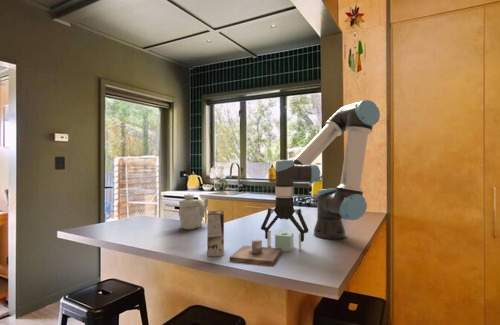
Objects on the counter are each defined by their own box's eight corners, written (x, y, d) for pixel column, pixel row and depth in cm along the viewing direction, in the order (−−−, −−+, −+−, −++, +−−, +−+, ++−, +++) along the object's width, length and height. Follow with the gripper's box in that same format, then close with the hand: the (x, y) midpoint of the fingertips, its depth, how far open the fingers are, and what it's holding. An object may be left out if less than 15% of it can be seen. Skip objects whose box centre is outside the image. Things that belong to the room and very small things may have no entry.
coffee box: (223, 256, 115) (223, 214, 115) (206, 256, 114) (207, 214, 114) (223, 249, 124) (223, 210, 124) (208, 249, 123) (208, 210, 123)
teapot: (207, 223, 176) (207, 191, 176) (209, 229, 161) (209, 194, 161) (178, 225, 172) (178, 192, 172) (178, 230, 158) (178, 195, 158)
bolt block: (281, 252, 119) (281, 237, 119) (272, 265, 104) (272, 248, 104) (243, 249, 124) (243, 234, 124) (229, 261, 109) (229, 244, 109)
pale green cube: (293, 247, 127) (293, 231, 127) (290, 251, 121) (290, 235, 121) (278, 245, 129) (278, 230, 129) (275, 249, 123) (275, 234, 123)
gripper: (315, 196, 125) (315, 248, 125) (258, 194, 132) (258, 243, 132) (313, 198, 118) (313, 253, 118) (253, 196, 125) (253, 247, 125)
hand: (284, 248), depth 125 cm, fingers open, 12 cm apart
